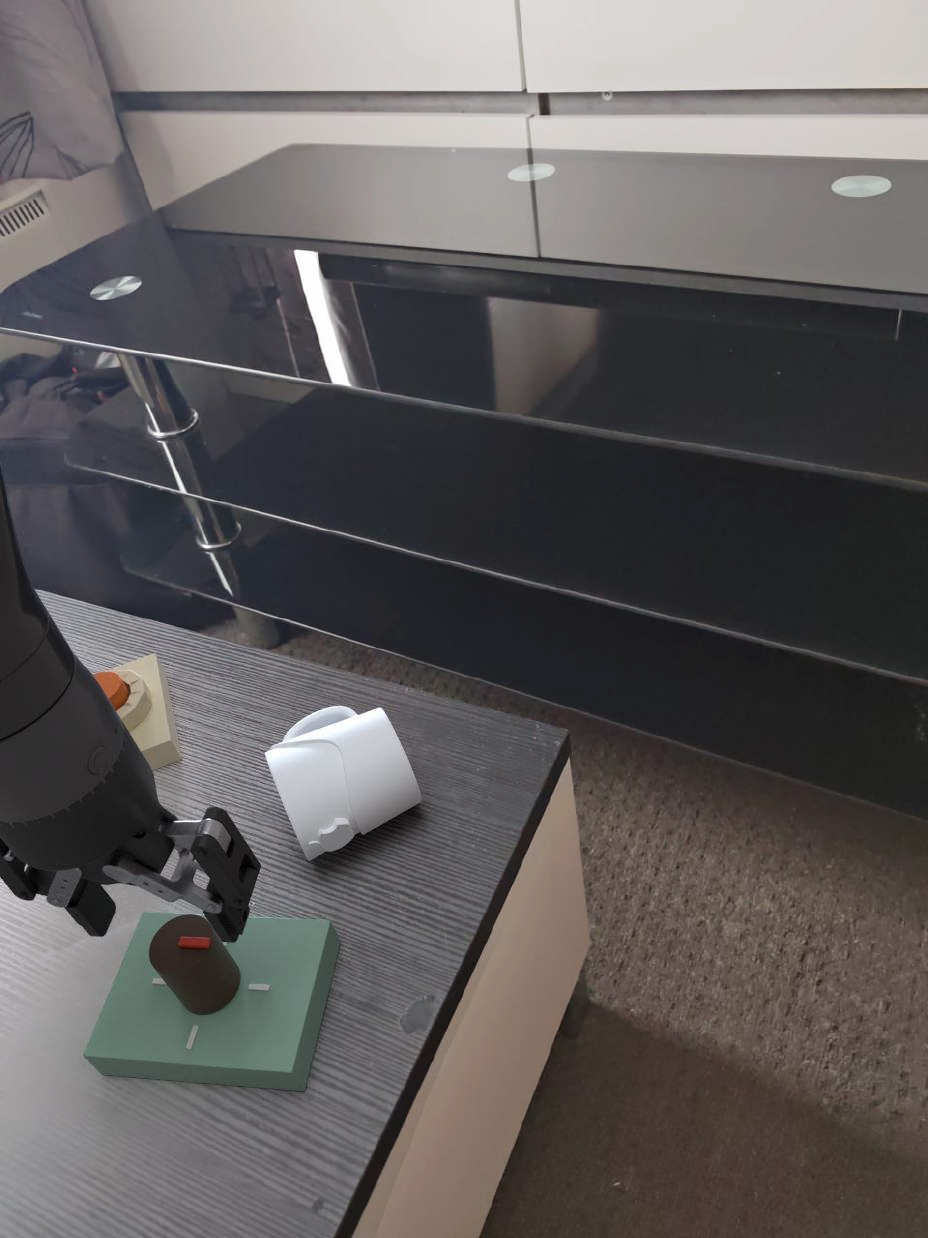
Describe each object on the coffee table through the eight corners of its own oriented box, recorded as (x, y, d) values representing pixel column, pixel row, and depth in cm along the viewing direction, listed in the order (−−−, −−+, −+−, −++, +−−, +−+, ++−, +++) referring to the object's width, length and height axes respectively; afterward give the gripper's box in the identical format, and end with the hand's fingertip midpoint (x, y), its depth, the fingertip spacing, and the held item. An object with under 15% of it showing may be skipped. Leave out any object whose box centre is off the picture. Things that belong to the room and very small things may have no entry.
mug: (433, 829, 70) (413, 763, 64) (318, 883, 68) (288, 820, 63) (379, 727, 78) (358, 661, 73) (276, 772, 76) (246, 708, 71)
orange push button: (130, 708, 79) (122, 694, 78) (84, 725, 78) (75, 711, 77) (127, 678, 82) (119, 665, 81) (82, 694, 81) (73, 681, 80)
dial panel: (101, 1075, 60) (80, 1055, 58) (158, 932, 67) (141, 910, 65) (304, 1092, 57) (290, 1071, 55) (341, 941, 64) (330, 918, 62)
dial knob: (171, 1013, 59) (136, 970, 55) (193, 954, 62) (160, 909, 58) (229, 1017, 58) (197, 974, 54) (248, 957, 61) (219, 912, 57)
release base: (182, 760, 79) (162, 725, 76) (78, 799, 78) (54, 766, 75) (166, 672, 88) (148, 638, 85) (72, 706, 86) (51, 673, 83)
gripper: (207, 694, 45) (298, 873, 56) (-43, 697, 48) (89, 867, 59) (150, 821, 40) (262, 993, 51) (-128, 816, 43) (35, 980, 54)
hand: (169, 925), depth 55 cm, fingers open, 8 cm apart
